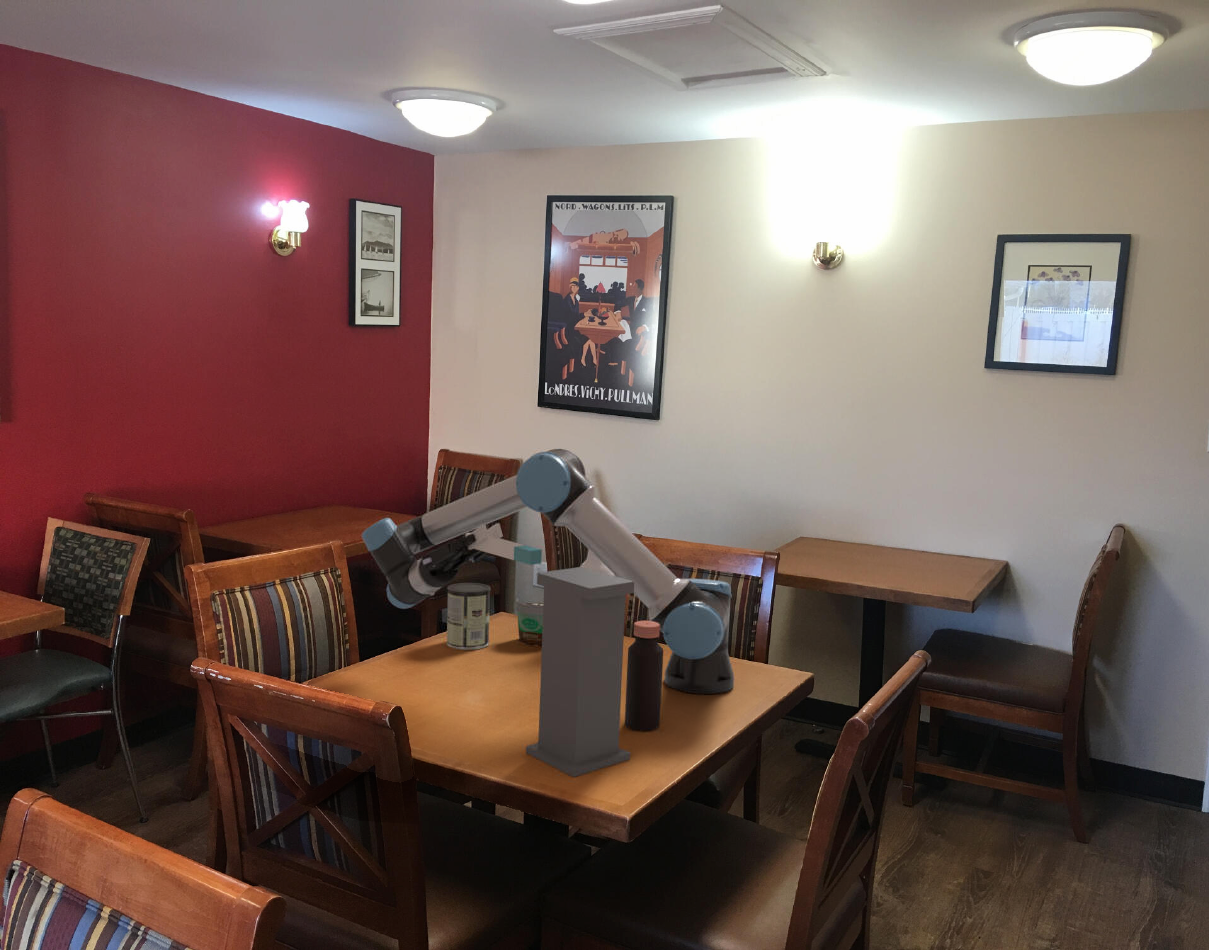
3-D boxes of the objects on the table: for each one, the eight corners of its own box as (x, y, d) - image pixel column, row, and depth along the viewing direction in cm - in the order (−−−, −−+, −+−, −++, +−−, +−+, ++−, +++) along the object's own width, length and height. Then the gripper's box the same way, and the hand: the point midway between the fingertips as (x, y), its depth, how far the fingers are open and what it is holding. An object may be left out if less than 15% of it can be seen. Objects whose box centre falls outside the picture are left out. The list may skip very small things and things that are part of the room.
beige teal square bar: (465, 546, 199) (465, 533, 199) (476, 545, 201) (476, 532, 200) (530, 564, 183) (530, 550, 183) (541, 563, 185) (541, 549, 185)
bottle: (633, 733, 188) (638, 629, 186) (618, 721, 195) (623, 620, 192) (665, 729, 191) (671, 627, 189) (650, 717, 197) (655, 618, 195)
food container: (507, 644, 244) (508, 604, 243) (514, 638, 250) (515, 598, 249) (557, 649, 242) (558, 608, 241) (562, 642, 248) (564, 602, 247)
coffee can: (464, 636, 250) (466, 580, 248) (497, 643, 244) (499, 586, 243) (436, 644, 241) (438, 587, 239) (470, 652, 236) (471, 594, 234)
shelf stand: (524, 751, 177) (530, 573, 174) (580, 735, 186) (587, 566, 182) (575, 778, 167) (583, 589, 164) (632, 760, 176) (640, 580, 172)
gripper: (469, 583, 214) (530, 545, 198) (405, 592, 204) (463, 552, 188) (460, 550, 217) (519, 509, 200) (396, 557, 206) (453, 515, 190)
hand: (492, 530), depth 194 cm, fingers closed on beige teal square bar, 3 cm apart
